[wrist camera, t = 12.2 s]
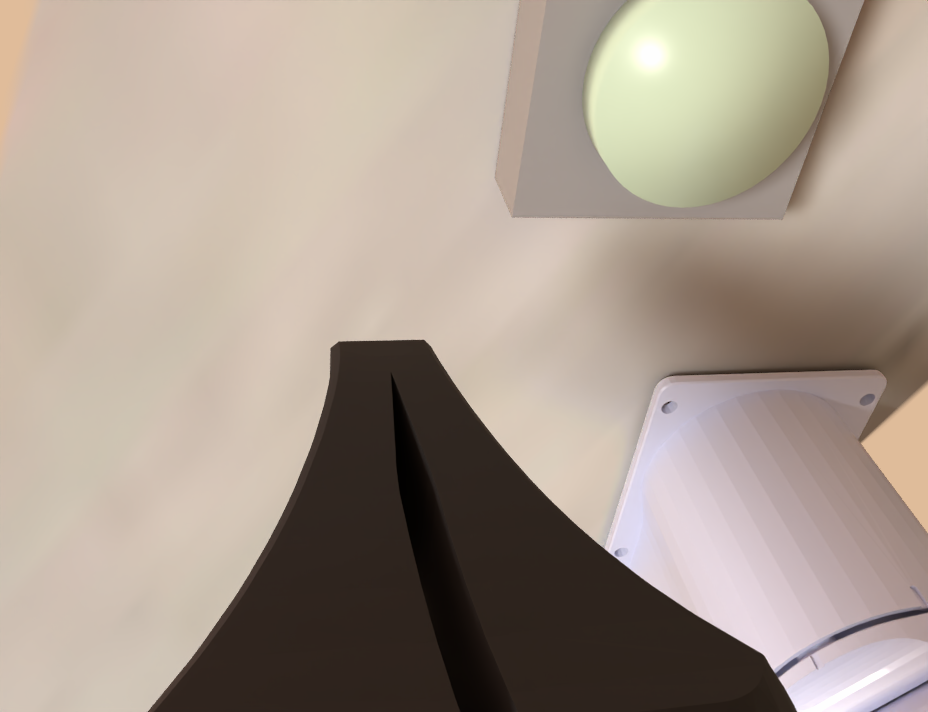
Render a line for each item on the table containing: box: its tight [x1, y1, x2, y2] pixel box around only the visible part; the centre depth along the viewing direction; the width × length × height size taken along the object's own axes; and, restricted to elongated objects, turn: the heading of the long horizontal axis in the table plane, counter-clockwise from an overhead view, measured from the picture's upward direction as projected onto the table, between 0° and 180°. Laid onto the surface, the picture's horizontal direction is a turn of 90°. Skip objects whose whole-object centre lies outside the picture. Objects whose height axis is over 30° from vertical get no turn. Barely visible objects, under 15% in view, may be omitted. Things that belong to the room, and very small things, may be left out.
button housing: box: [495, 0, 864, 220], centre depth 20 cm, size 7×7×2 cm
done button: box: [582, 0, 829, 208], centre depth 19 cm, size 5×5×3 cm
